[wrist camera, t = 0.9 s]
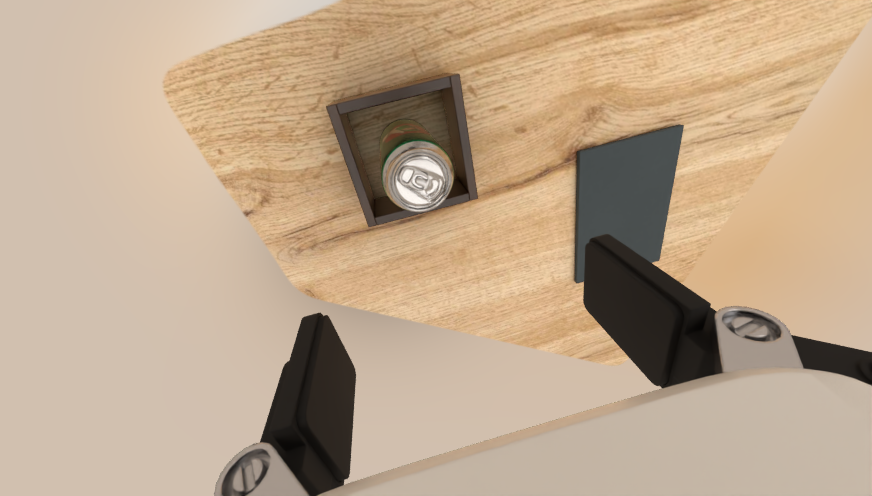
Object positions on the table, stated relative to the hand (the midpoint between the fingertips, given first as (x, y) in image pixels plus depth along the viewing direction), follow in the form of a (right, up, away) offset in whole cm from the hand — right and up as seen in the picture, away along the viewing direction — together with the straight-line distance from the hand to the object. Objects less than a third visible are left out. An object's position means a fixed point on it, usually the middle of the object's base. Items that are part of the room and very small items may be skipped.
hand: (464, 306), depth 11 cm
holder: (-4, +12, +20) cm, 24 cm away
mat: (+22, +7, +28) cm, 36 cm away
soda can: (-4, +12, +20) cm, 24 cm away
